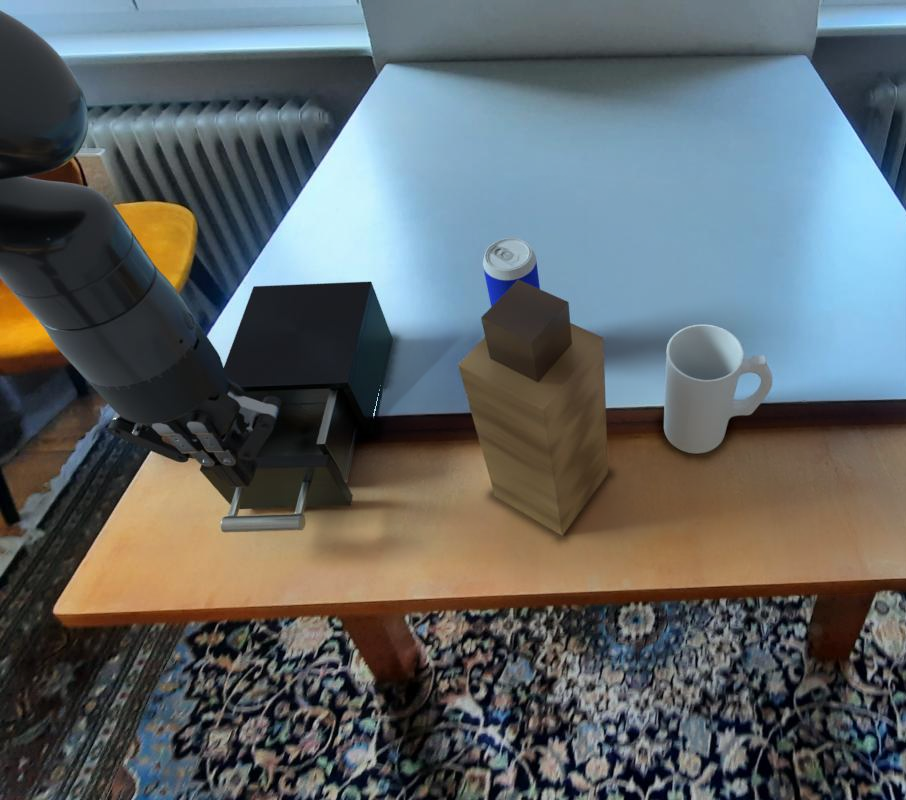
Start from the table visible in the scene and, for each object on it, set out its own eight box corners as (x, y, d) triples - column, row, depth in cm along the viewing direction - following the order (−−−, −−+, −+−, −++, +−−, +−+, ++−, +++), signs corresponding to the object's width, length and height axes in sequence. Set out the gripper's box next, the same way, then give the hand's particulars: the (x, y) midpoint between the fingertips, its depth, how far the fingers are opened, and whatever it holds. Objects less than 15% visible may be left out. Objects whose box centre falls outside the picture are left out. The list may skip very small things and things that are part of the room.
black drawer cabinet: (374, 437, 76) (347, 382, 69) (254, 441, 76) (216, 387, 69) (393, 338, 84) (371, 281, 77) (285, 343, 85) (253, 286, 77)
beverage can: (556, 349, 82) (545, 246, 70) (530, 380, 80) (514, 279, 68) (519, 332, 84) (502, 229, 72) (492, 362, 81) (470, 260, 69)
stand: (562, 536, 68) (543, 409, 52) (494, 496, 71) (457, 364, 55) (608, 473, 72) (603, 337, 56) (542, 438, 75) (520, 299, 59)
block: (538, 383, 54) (532, 342, 50) (489, 358, 55) (480, 317, 52) (572, 343, 56) (568, 301, 52) (524, 321, 58) (518, 279, 54)
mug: (662, 456, 73) (668, 382, 63) (659, 402, 77) (664, 324, 67) (764, 455, 72) (786, 380, 63) (756, 401, 76) (775, 322, 67)
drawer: (341, 551, 67) (315, 513, 62) (220, 554, 68) (182, 517, 62) (372, 401, 78) (351, 357, 72) (266, 405, 78) (237, 361, 72)
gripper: (9, 387, 46) (150, 520, 59) (218, 379, 45) (311, 515, 59) (60, 302, 50) (180, 443, 64) (249, 294, 50) (330, 438, 64)
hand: (243, 477), depth 62 cm, fingers closed
